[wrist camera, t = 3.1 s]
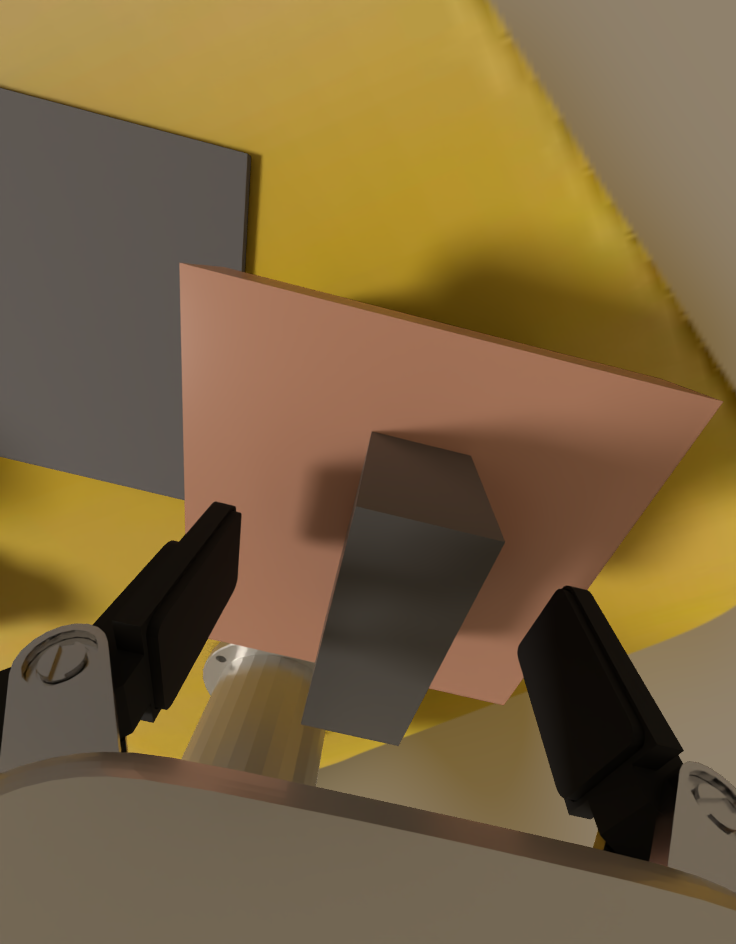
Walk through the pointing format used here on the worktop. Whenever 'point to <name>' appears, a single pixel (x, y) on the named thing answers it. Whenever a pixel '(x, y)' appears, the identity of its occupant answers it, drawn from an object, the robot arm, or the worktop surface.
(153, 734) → the worktop surface
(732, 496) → the worktop surface
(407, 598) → the lid
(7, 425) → the mat
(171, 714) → the worktop surface
